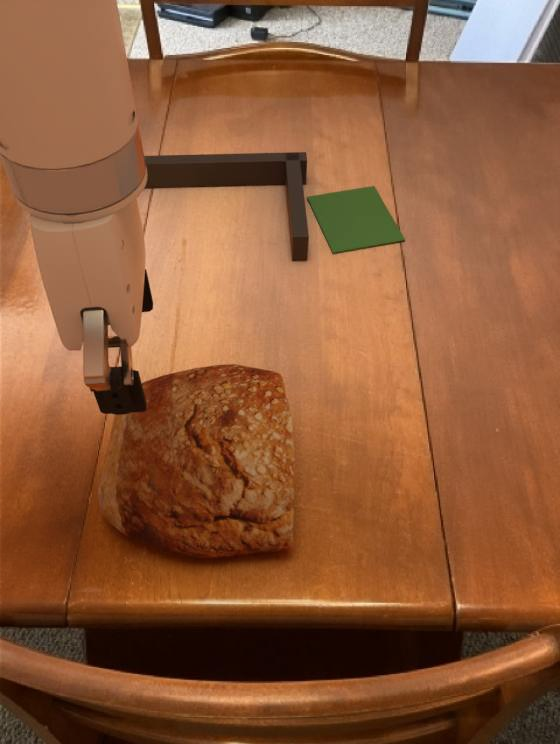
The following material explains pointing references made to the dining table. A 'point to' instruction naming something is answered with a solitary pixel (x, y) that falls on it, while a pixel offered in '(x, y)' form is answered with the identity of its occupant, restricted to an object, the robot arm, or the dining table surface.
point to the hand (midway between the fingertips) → (129, 356)
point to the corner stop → (241, 180)
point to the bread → (204, 465)
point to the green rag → (354, 219)
